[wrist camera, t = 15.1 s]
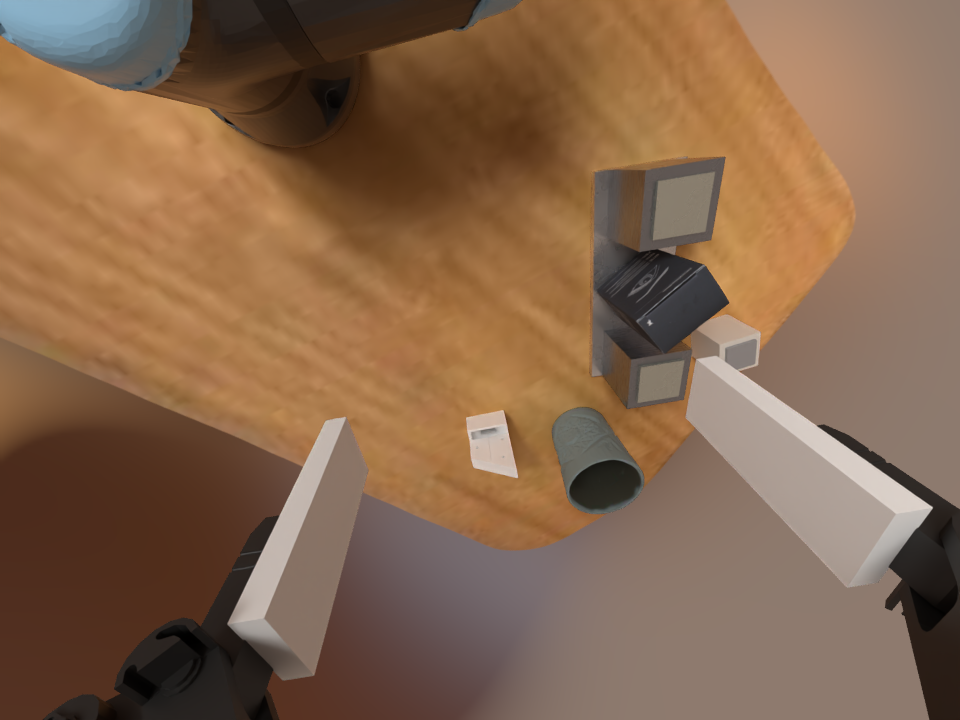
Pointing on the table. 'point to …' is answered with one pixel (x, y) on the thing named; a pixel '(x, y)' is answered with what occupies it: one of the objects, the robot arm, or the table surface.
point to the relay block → (727, 342)
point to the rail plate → (621, 237)
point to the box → (663, 297)
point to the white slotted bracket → (491, 444)
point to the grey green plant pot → (594, 463)
